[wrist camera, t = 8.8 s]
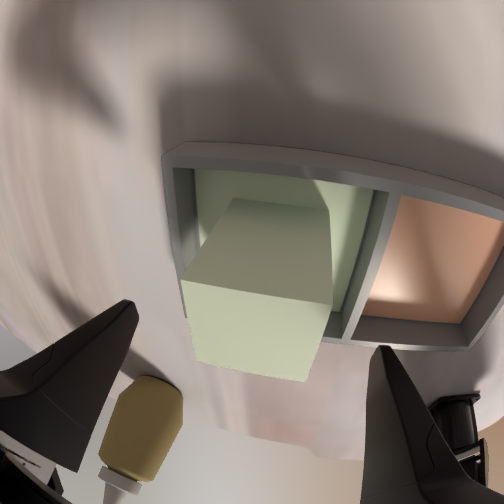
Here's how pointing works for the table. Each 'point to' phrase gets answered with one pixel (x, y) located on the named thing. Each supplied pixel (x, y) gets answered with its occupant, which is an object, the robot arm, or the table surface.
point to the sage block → (261, 289)
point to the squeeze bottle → (139, 436)
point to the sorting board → (360, 237)
